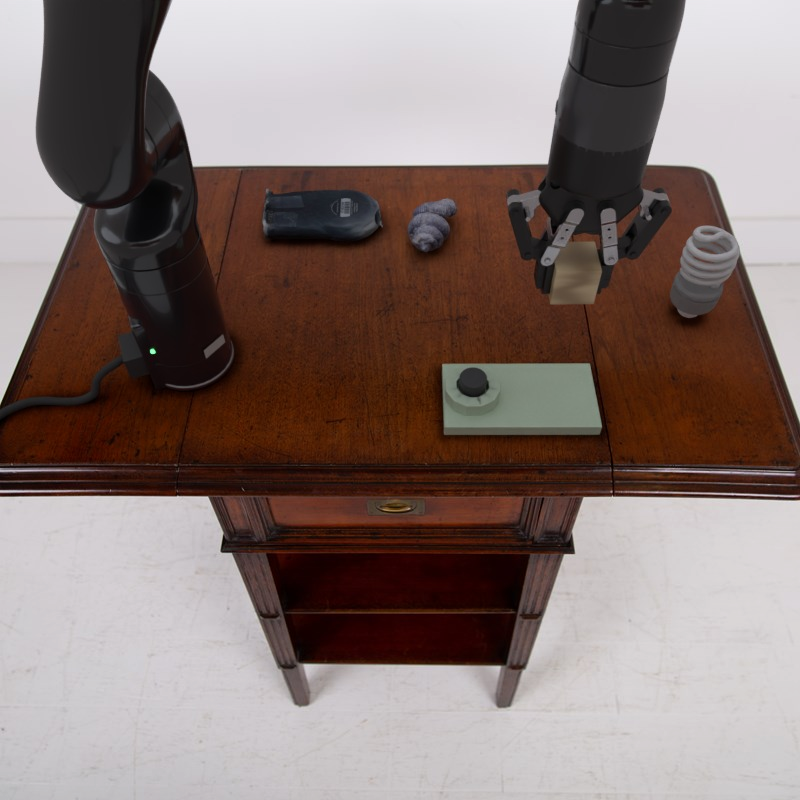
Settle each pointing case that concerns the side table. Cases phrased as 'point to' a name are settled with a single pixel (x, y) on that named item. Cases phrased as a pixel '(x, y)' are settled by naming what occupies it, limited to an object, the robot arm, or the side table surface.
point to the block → (576, 274)
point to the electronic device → (320, 215)
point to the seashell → (431, 224)
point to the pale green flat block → (523, 401)
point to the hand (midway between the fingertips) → (569, 287)
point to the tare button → (473, 382)
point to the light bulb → (703, 271)
